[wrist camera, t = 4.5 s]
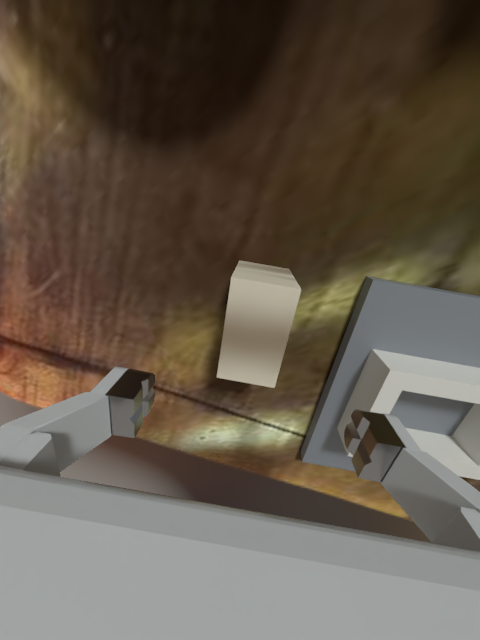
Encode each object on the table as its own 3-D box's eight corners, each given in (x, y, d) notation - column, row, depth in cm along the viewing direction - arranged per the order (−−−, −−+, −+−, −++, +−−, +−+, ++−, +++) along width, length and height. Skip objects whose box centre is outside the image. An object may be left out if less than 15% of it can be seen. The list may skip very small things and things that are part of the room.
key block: (239, 260, 19) (231, 277, 13) (288, 269, 19) (301, 289, 13) (227, 337, 22) (216, 377, 16) (270, 344, 22) (274, 387, 16)
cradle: (366, 276, 18) (395, 291, 15) (570, 311, 18) (653, 336, 14) (300, 451, 26) (307, 491, 22) (442, 477, 26) (473, 521, 22)
